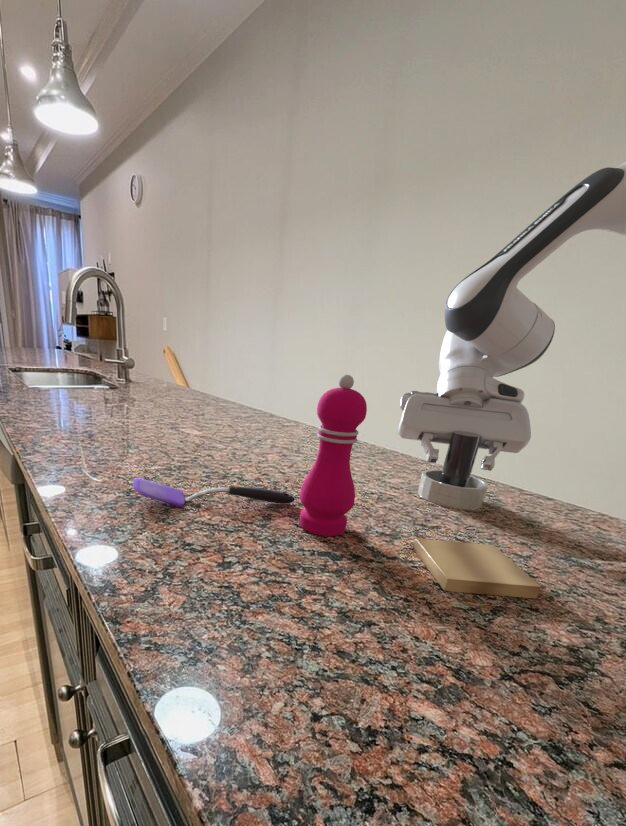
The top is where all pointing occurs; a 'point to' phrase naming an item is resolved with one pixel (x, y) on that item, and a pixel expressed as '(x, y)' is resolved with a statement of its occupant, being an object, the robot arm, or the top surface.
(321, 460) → the pepper mill
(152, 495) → the spatula
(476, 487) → the pan
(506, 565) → the board
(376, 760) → the top surface
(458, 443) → the black canister
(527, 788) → the top surface
